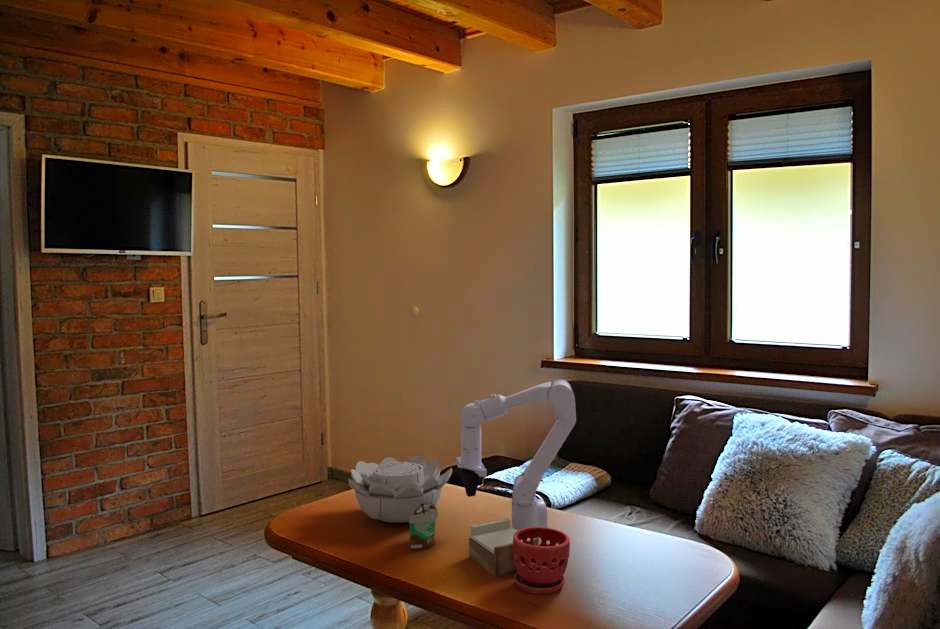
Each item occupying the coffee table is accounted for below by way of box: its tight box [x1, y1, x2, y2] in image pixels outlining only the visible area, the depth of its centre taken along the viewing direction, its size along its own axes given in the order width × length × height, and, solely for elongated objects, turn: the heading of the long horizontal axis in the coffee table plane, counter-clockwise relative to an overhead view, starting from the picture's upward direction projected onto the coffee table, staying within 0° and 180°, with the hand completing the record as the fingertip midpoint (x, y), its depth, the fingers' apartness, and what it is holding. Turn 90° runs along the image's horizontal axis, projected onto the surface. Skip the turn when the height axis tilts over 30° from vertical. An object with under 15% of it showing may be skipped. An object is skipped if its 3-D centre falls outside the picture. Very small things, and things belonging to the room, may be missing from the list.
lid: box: [468, 518, 530, 554], centre depth 186 cm, size 12×13×3 cm
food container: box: [408, 501, 439, 552], centre depth 198 cm, size 12×6×10 cm, turn 168°
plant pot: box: [513, 527, 571, 595], centre depth 172 cm, size 13×13×12 cm
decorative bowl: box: [348, 454, 453, 524], centre depth 219 cm, size 30×30×15 cm
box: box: [468, 537, 539, 578], centre depth 186 cm, size 12×14×7 cm
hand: (471, 495), depth 206 cm, fingers closed
